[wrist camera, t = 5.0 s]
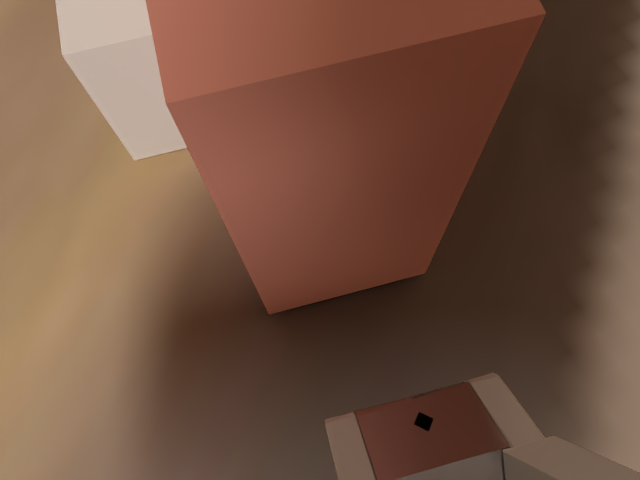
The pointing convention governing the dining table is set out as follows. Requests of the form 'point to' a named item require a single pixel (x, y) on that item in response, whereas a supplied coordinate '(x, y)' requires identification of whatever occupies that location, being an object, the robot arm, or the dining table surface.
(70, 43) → the dock
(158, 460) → the dining table surface
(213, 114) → the plug
